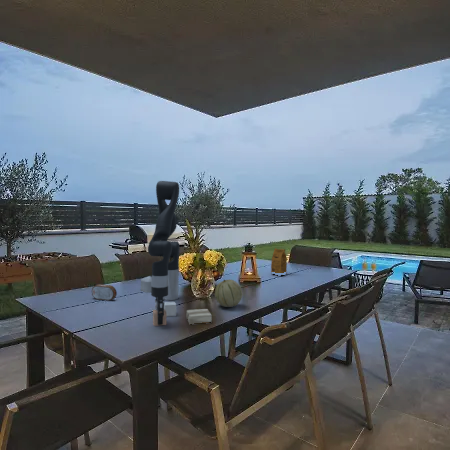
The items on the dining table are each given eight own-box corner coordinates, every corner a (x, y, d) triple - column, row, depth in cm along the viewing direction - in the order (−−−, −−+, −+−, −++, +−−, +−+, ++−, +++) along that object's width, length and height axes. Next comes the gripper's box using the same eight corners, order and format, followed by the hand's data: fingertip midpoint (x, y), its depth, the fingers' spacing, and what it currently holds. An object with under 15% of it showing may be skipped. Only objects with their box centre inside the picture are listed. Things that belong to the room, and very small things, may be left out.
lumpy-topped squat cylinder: (139, 290, 208) (139, 276, 208) (156, 287, 217) (157, 274, 216) (146, 293, 200) (146, 279, 200) (165, 290, 209) (165, 277, 209)
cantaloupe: (247, 306, 175) (248, 279, 174) (229, 312, 164) (230, 283, 163) (227, 301, 184) (227, 275, 184) (208, 306, 173) (209, 278, 173)
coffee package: (277, 273, 276) (277, 247, 275) (288, 275, 266) (288, 249, 265) (268, 274, 270) (269, 248, 269) (279, 277, 260) (280, 249, 259)
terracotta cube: (152, 321, 148) (152, 310, 148) (165, 320, 149) (165, 309, 149) (153, 325, 143) (153, 313, 142) (166, 324, 144) (166, 312, 144)
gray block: (186, 318, 155) (186, 310, 155) (207, 317, 157) (207, 308, 157) (189, 325, 145) (189, 316, 145) (211, 323, 148) (211, 315, 147)
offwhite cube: (163, 313, 161) (163, 302, 161) (174, 312, 163) (174, 301, 162) (164, 316, 156) (164, 305, 156) (176, 315, 157) (176, 304, 157)
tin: (116, 300, 184) (117, 285, 184) (113, 301, 181) (113, 286, 181) (94, 297, 188) (94, 283, 188) (90, 299, 185) (90, 284, 185)
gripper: (170, 288, 140) (169, 326, 140) (166, 281, 153) (166, 316, 154) (152, 289, 137) (152, 328, 138) (150, 282, 151) (150, 317, 152)
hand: (159, 322), depth 146 cm, fingers closed on terracotta cube, 5 cm apart
